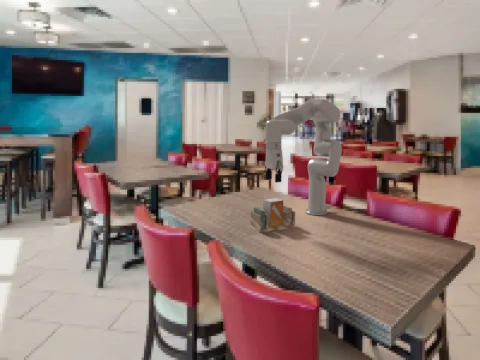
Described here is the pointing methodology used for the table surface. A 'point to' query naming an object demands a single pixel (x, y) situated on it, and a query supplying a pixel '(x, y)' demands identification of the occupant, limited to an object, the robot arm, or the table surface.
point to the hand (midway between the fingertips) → (273, 180)
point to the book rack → (262, 220)
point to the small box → (274, 211)
